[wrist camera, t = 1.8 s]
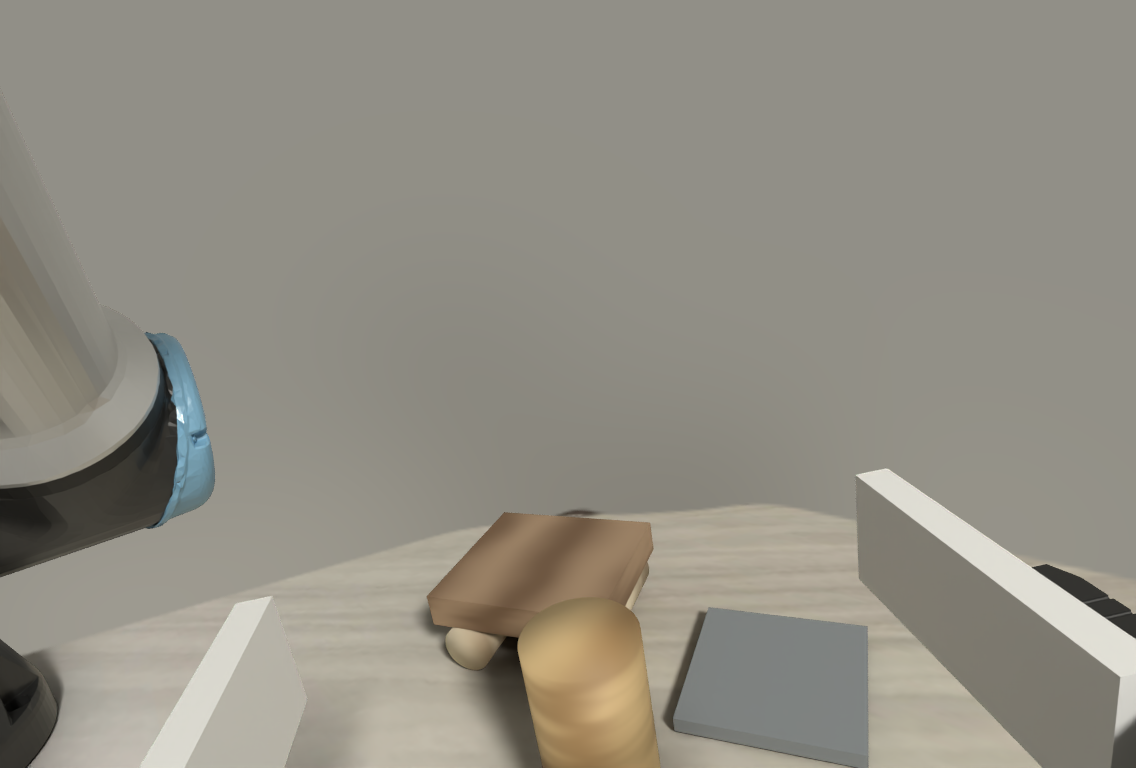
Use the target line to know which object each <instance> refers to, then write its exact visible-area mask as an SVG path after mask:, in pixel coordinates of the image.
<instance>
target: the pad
mask: <svg viewBox="0 0 1136 768" xmlns="http://www.w3.org/2000/svg"><path fill="white" fill-rule="evenodd" d="M673 723H674V731H678V732H683V733H688V734H692V735H697V736H702V737H707V738H712V739H717V740H722V741H727V742H732V743H737V744H742V745H747V746H752V747H757V748H762V749H767V750H772V751H777V752H782V753H787V754H792V755H797V756H802V757H807V758H812V759H817V760H822V761H827V762H832V763H837V764H842V765H847V766H852V767H857V768H868V628H867V626H860V625H852V624H844V623H835V622H827V621H819V620H810V619H802V618H794V617H785V616H777V615H769V614H760V613H752V612H744V611H735V610H727V609H719V608H710V607H709V608H708V611H707V614H706V617H705V620H704V623H703V627H702V630H701V633H700V636H699V639H698V642H697V645H696V648H695V651H694V654H693V658H692V661H691V664H690V667H689V670H688V673H687V676H686V679H685V682H684V685H683V689H682V692H681V695H680V698H679V701H678V704H677V707H676V710H675V713H674V717H673Z"/></svg>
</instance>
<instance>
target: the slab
mask: <svg viewBox="0 0 1136 768" xmlns="http://www.w3.org/2000/svg"><path fill="white" fill-rule="evenodd" d="M652 551H653V542H652V534H651V527H650V523H647V522H633V521H619V520H604V519H590V518H576V517H562V516H548V515H534V514H519V513H505V512H504V513H503V514H502V516H501V517H500V518H499V519H498V520H497V521H496V522H495V523H494V524H493V525H492V526H491V527H490V529H489V530H488V531H487V532H486V533H485V534H484V535H483V536H482V537H481V538H480V539H479V540H478V542H477V543H476V544H475V545H474V546H473V547H472V548H471V549H470V550H469V551H468V552H467V553H466V554H465V556H464V557H463V558H462V559H461V560H460V561H459V562H458V563H457V564H456V565H455V566H454V567H453V569H452V570H451V571H450V572H449V573H448V574H447V575H446V576H445V577H444V578H443V579H442V580H441V582H440V583H439V584H438V585H437V586H436V587H435V588H434V589H433V590H432V591H431V592H430V593H429V595H428V596H427V599H428V603H429V607H430V611H431V615H432V619H433V623H434V624H435V625H441V626H448V627H452V629H451V630H450V631H449V632H448V634H447V635H446V639H445V643H446V648H447V650H448V652H449V654H450V655H451V657H452V658H453V659H454V660H455V661H456V662H457V663H458V664H460V665H461V666H463V667H465V668H467V669H471V670H480V669H483V668H484V667H485V666H486V665H487V664H488V662H489V661H490V660H491V658H492V657H493V655H494V654H495V652H496V651H497V649H498V648H499V647H500V645H501V644H502V642H503V641H504V639H505V638H506V637H507V636H511V637H518V638H519V636H520V634H521V632H522V630H523V628H524V627H525V625H526V624H527V623H528V622H529V621H530V620H531V619H532V618H533V617H534V616H535V615H537V614H538V613H539V612H541V611H542V610H544V609H546V608H548V607H549V606H552V605H554V604H556V603H559V602H562V601H566V600H570V599H575V598H584V597H596V598H604V599H609V600H612V601H615V602H618V603H620V604H622V605H624V606H625V607H627V608H628V609H630V610H632V608H633V606H634V604H635V602H636V600H637V597H638V595H639V593H640V591H641V589H642V587H643V585H644V583H645V581H646V579H647V577H648V574H649V566H648V563H647V561H648V559H649V557H650V555H651V553H652Z"/></svg>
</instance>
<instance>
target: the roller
mask: <svg viewBox="0 0 1136 768" xmlns="http://www.w3.org/2000/svg"><path fill="white" fill-rule="evenodd" d="M518 654H519V659H520V663H521V668H522V673H523V678H524V682H525V687H526V692H527V696H528V701H529V706H530V710H531V715H532V720H533V725H534V729H535V734H536V739H537V743H538V748H539V753H540V757H541V762H542V767H543V768H661V767H660V760H659V753H658V746H657V739H656V732H655V725H654V718H653V712H652V705H651V698H650V691H649V684H648V677H647V670H646V663H645V656H644V649H643V642H642V635H641V628H640V624H639V621H638V619H637V617H636V616H635V615H634V613H633V612H632V611H631V610H630V609H628V608H627V607H625V606H624V605H622V604H620V603H618V602H615V601H612V600H609V599H604V598H596V597H584V598H575V599H570V600H566V601H562V602H559V603H556V604H554V605H552V606H549V607H548V608H546V609H544V610H542V611H541V612H539V613H538V614H537V615H535V616H534V617H533V618H532V619H531V620H530V621H529V622H528V623H527V624H526V625H525V627H524V628H523V630H522V632H521V634H520V636H519V639H518Z"/></svg>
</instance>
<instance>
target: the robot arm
mask: <svg viewBox="0 0 1136 768" xmlns="http://www.w3.org/2000/svg"><path fill="white" fill-rule="evenodd" d="M206 430H207V427H206V421H205V414H204V410H203V406H202V402H201V399H200V395H199V392H198V388H197V385H196V382H195V379H194V376H193V373H192V370H191V367H190V364H189V362H188V359H187V357H186V354H185V352H184V350H183V348H182V346H181V344H180V343H179V342H178V340H177V339H176V338H174V337H173V336H170V335H167V334H165V333H159V334H151V333H148V332H146V333H143V331H142V330H141V329H140V327H138V326H137V325H136V324H135V323H134V322H133V321H131V320H130V319H129V318H127V317H126V316H124V315H122V314H121V313H119V312H117V311H115V310H113V309H111V308H108V307H106V306H104V305H101V304H99V302H98V300H97V297H96V295H95V293H94V291H93V289H92V286H91V284H90V282H89V280H88V278H87V276H86V274H85V271H84V269H83V267H82V265H81V263H80V260H79V258H78V256H77V254H76V252H75V249H74V247H73V245H72V243H71V241H70V239H69V237H68V235H67V232H66V230H65V228H64V226H63V224H62V221H61V219H60V217H59V215H58V212H57V210H56V208H55V206H54V204H53V202H52V199H51V197H50V195H49V193H48V191H47V189H46V187H45V184H44V182H43V180H42V178H41V176H40V173H39V171H38V169H37V167H36V165H35V163H34V160H33V158H32V156H31V154H30V152H29V150H28V147H27V145H26V143H25V141H24V139H23V136H22V134H21V132H20V130H19V128H18V126H17V123H16V121H15V119H14V117H13V115H12V113H11V110H10V108H9V106H8V104H7V102H6V99H5V97H4V95H3V93H2V91H1V89H0V577H3V576H6V575H9V574H12V573H14V572H17V571H20V570H23V569H26V568H29V567H32V566H35V565H38V564H41V563H44V562H46V561H49V560H53V559H55V558H58V557H61V556H64V555H67V554H70V553H73V552H76V551H79V550H82V549H85V548H88V547H91V546H94V545H97V544H99V543H102V542H105V541H108V540H111V539H114V538H117V537H120V536H123V535H125V534H129V533H132V532H135V531H137V530H140V529H143V528H148V529H150V528H155V527H159V526H161V525H163V524H164V523H166V522H167V521H168V520H169V519H171V518H173V517H176V516H179V515H181V514H184V513H186V512H189V511H191V510H194V509H196V508H198V507H200V506H201V505H203V504H204V503H205V502H206V501H207V500H208V499H209V497H210V496H211V494H212V492H213V489H214V482H215V469H214V460H213V453H212V448H211V443H210V439H209V436H208V435H207V433H206ZM855 479H856V509H857V538H858V568H859V579H860V580H861V581H862V582H863V583H864V584H865V585H866V586H867V587H868V588H869V590H870V591H871V592H872V593H873V594H874V595H875V596H876V597H877V598H878V599H879V600H880V601H881V602H882V603H883V604H884V605H885V606H886V607H887V608H888V609H889V610H890V611H891V612H892V613H893V614H894V615H895V616H896V617H897V618H898V619H899V620H900V621H901V622H902V624H903V625H904V626H905V627H906V628H907V629H908V630H909V631H910V632H911V633H912V634H913V635H914V636H915V637H916V638H917V639H918V640H919V641H920V642H921V643H922V644H923V645H924V646H925V647H926V648H927V649H928V650H929V651H930V652H931V653H932V654H933V655H934V656H935V657H936V659H937V660H938V661H939V662H940V663H941V664H942V665H943V666H944V667H945V668H946V669H947V670H948V671H949V672H950V673H951V674H952V675H953V676H954V677H955V678H956V679H957V680H958V681H959V682H960V683H961V684H962V685H963V686H964V687H965V688H966V689H967V690H968V691H969V692H970V694H971V695H972V696H973V697H974V698H975V699H976V700H977V701H978V702H979V703H980V704H981V705H982V706H983V707H984V708H985V709H986V710H987V711H988V712H989V713H990V714H991V715H992V716H993V717H994V718H995V719H996V720H997V721H998V722H999V723H1000V724H1001V725H1002V726H1003V727H1004V729H1005V730H1006V731H1007V732H1008V733H1009V734H1010V735H1011V736H1012V737H1013V738H1014V739H1015V740H1016V741H1017V742H1018V743H1019V744H1020V745H1021V746H1022V747H1023V748H1024V749H1025V750H1026V751H1027V752H1028V753H1029V754H1030V755H1031V756H1032V757H1033V758H1034V759H1035V760H1036V761H1037V762H1038V764H1039V765H1040V766H1041V767H1042V768H1136V614H1132V612H1131V610H1130V609H1129V608H1127V607H1126V606H1124V605H1123V604H1121V603H1119V602H1118V601H1116V600H1115V599H1109V597H1108V595H1107V594H1106V593H1104V592H1102V591H1101V590H1099V589H1098V588H1096V587H1095V586H1093V585H1092V584H1090V583H1089V582H1087V581H1085V580H1084V579H1082V578H1081V577H1078V576H1076V575H1073V574H1071V573H1068V572H1065V571H1063V570H1060V569H1058V568H1055V567H1052V566H1050V565H1047V564H1045V565H1041V566H1036V567H1032V568H1031V567H1030V566H1028V565H1027V564H1026V563H1024V562H1023V561H1021V560H1020V559H1018V558H1017V557H1015V556H1014V555H1012V554H1011V553H1010V552H1008V551H1007V550H1005V549H1003V548H1002V547H1001V546H999V545H998V544H996V543H995V542H994V541H992V540H991V539H989V538H988V537H986V536H985V535H983V534H982V533H980V532H979V531H978V530H976V529H975V528H973V527H972V526H970V525H969V524H967V523H966V522H964V521H963V520H961V519H960V518H959V517H957V516H956V515H954V514H953V513H951V512H950V511H948V510H947V509H946V508H944V507H943V506H941V505H940V504H938V503H937V502H935V501H934V500H932V499H931V498H930V497H928V496H927V495H925V494H923V493H922V492H921V491H919V490H918V489H916V488H915V487H914V486H912V485H910V484H909V483H908V482H906V481H905V480H903V479H902V478H900V477H899V476H897V475H896V474H895V473H893V472H892V471H890V470H889V469H882V470H877V471H872V472H867V473H863V474H857V475H855ZM307 700H308V699H307V697H306V694H305V691H304V688H303V685H302V682H301V679H300V676H299V673H298V670H297V667H296V664H295V661H294V658H293V655H292V652H291V649H290V646H289V643H288V640H287V637H286V634H285V632H284V629H283V626H282V623H281V620H280V617H279V614H278V611H277V608H276V605H275V602H274V599H273V596H269V597H264V598H259V599H254V600H250V601H245V602H240V603H236V604H235V606H234V607H233V609H232V611H231V613H230V614H229V616H228V618H227V619H226V621H225V623H224V624H223V626H222V628H221V629H220V631H219V633H218V635H217V636H216V638H215V640H214V641H213V643H212V645H211V646H210V648H209V650H208V652H207V653H206V655H205V657H204V658H203V660H202V662H201V663H200V665H199V667H198V668H197V670H196V672H195V674H194V675H193V677H192V679H191V680H190V682H189V684H188V685H187V687H186V689H185V690H184V692H183V694H182V696H181V697H180V699H179V701H178V702H177V704H176V706H175V707H174V709H173V711H172V713H171V714H170V716H169V718H168V719H167V721H166V723H165V724H164V726H163V728H162V729H161V731H160V733H159V735H158V736H157V738H156V740H155V741H154V743H153V745H152V746H151V748H150V750H149V751H148V753H147V755H146V757H145V758H144V760H143V762H142V763H141V765H140V767H139V768H285V765H286V762H287V759H288V756H289V753H290V750H291V747H292V744H293V741H294V738H295V735H296V732H297V729H298V726H299V723H300V720H301V717H302V714H303V711H304V708H305V706H306V703H307ZM56 717H57V704H56V701H55V699H54V697H53V695H52V693H51V691H50V689H49V686H48V684H47V682H46V680H45V678H44V676H43V675H42V674H41V673H40V671H39V670H38V669H37V668H36V667H34V666H33V665H32V664H31V663H29V662H28V661H27V660H26V659H24V658H23V657H22V656H21V655H19V654H18V653H17V652H16V651H14V650H13V649H12V648H10V647H9V646H8V645H7V644H6V643H4V642H3V641H2V640H1V639H0V768H25V767H26V766H27V765H28V764H29V763H30V761H31V760H32V759H33V758H34V757H35V755H36V754H37V753H38V751H39V750H40V749H41V747H42V746H43V744H44V743H45V741H46V740H47V738H48V736H49V735H50V733H51V731H52V729H53V726H54V724H55V721H56Z"/></svg>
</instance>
